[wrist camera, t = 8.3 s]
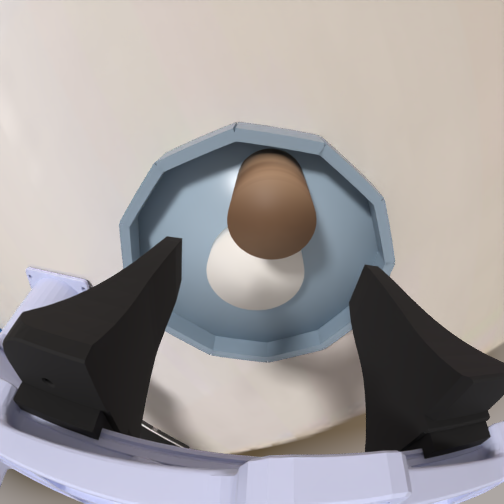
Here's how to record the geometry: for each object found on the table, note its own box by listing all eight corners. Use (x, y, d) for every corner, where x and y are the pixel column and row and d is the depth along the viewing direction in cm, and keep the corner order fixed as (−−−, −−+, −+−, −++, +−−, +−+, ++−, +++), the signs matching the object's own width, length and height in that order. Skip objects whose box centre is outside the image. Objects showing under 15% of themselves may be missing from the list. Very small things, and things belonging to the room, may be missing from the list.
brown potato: (297, 214, 22) (306, 264, 17) (234, 205, 22) (223, 253, 16) (309, 154, 19) (325, 187, 14) (241, 144, 19) (231, 174, 14)
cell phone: (163, 448, 50) (162, 453, 49) (104, 414, 44) (102, 419, 43) (191, 446, 48) (190, 450, 47) (129, 410, 41) (128, 415, 41)
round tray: (338, 351, 30) (341, 367, 28) (141, 325, 29) (135, 341, 27) (416, 160, 19) (430, 170, 17) (130, 113, 18) (116, 119, 17)
